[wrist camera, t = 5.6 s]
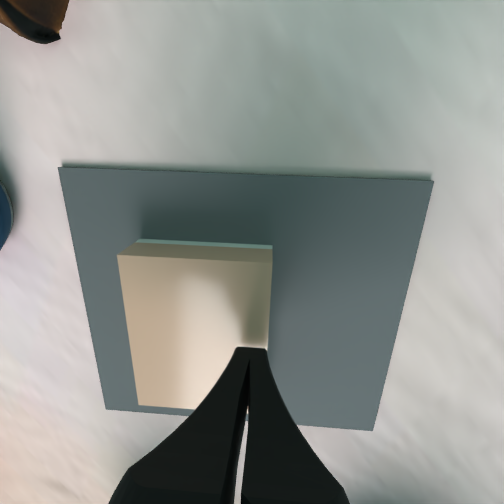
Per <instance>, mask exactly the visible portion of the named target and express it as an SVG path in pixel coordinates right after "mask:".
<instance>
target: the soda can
mask: <svg viewBox="0 0 504 504" xmlns="http://www.w3.org/2000/svg"><path fill="white" fill-rule="evenodd" d="M12 225H13V209H12V204H11V201H10V198H9V195H8V193H7V191H6V189H5V187H4V185H3V184H2V182H1V181H0V250H1V248H2V247H3V245H4V243H5V241H6V240H7V238H8V236H9V234H10V231H11V229H12Z"/></svg>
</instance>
